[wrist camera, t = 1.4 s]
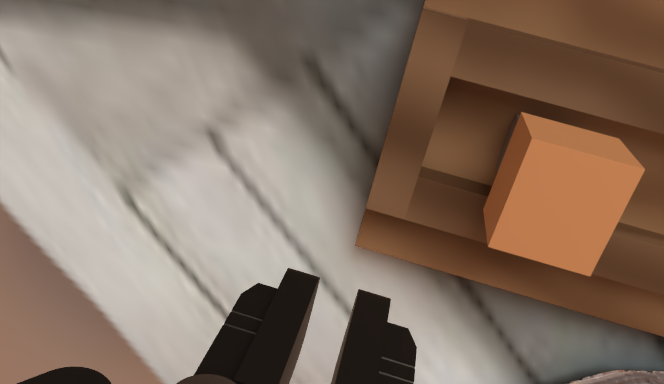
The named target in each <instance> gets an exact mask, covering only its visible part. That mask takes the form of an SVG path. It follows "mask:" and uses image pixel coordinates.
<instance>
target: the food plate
mask: <svg viewBox="0 0 664 384" xmlns="http://www.w3.org/2000/svg"><path fill="white" fill-rule="evenodd" d="M647 372H648V371H642V370H641V371H636V370H632V371H630V370H627V371H626V370H616V371H615V370H614V371H613V370H612V371H609V372H608V371H607V372H604V373H601V374H598V375H591V376H589V377H586V378H582V379H583V380H581V381H580V380H578V381H576V380H575V381H571V383H569V384H664V372H663V371H660V372H658V371H652V372H648V373H647ZM566 384H567V383H566Z"/></svg>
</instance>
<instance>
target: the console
mask: <svg viewBox="0 0 664 384" xmlns="http://www.w3.org/2000/svg"><path fill="white" fill-rule="evenodd" d="M521 112H523V113H527V114H531V115H534V116H538V117H542V118H545V119H549V120H553V121H556V122H560V123H564V124H567V125H571V126H575V127H578V128H582V129H586V130H589V131H593V132H597V133H600V134H604V135H608V136H611V137H615V138H619V139H620V140H621V141H622V143H623V144H624V145H625V146H626V147H627V149H628V150H629V151H630V152H631V153H632V154H633V156H634V157H635V158H636V159H637V160H638V161H639V163H640V164H641V165H642V166H643V167H644V169H645V171H644V173H643V175H642V177H641V179H640V181H639V183H638V185H637V186H636V188H635V190H634V192H633V194H632V196H631V198H630V200H629V202H628V204H627V206H626V208H625V210H624V212H623V214H622V216H621V218H620V220H619V222H618V223H617V225H616V227H615V229H614V231H613V233H612V235H611V237H610V239H609V241H608V243H607V245H606V247H605V249H604V251H603V253H602V255H601V257H600V258H599V260H598V262H597V264H596V266H595V268H594V270H593V272H592V274H591V276H586V275H583V274H579V273H576V272H573V271H569V270H566V269H562V268H559V267H555V266H552V265H549V264H545V263H542V262H538V261H535V260H531V259H528V258H524V257H521V256H518V255H514V254H511V253H507V252H504V251H500V250H497V249H494V248H490V247H488V244H487V236H486V228H485V220H484V212H483V208H484V206H485V203H486V201H487V198H488V196H489V193H490V191H491V188H492V185H493V183H494V180H495V178H496V175H497V171H496V164H497V162H498V159H499V156H500V154H501V151H502V149H503V146H504V143H505V141H506V138H507V136H508V133H509V130H510V128H511V125H512V123H513V120H514V118H515V115H516V113H519V114H520V113H521ZM355 246H358V247H362V248H365V249H369V250H372V251H375V252H379V253H382V254H385V255H389V256H392V257H396V258H399V259H402V260H406V261H409V262H412V263H416V264H419V265H423V266H426V267H429V268H433V269H436V270H439V271H443V272H446V273H450V274H453V275H456V276H460V277H463V278H466V279H470V280H473V281H477V282H480V283H483V284H487V285H490V286H494V287H497V288H500V289H504V290H507V291H510V292H514V293H517V294H521V295H524V296H527V297H531V298H534V299H537V300H541V301H544V302H548V303H551V304H554V305H558V306H561V307H564V308H568V309H571V310H575V311H578V312H581V313H585V314H588V315H592V316H595V317H598V318H602V319H605V320H608V321H612V322H615V323H619V324H622V325H625V326H629V327H632V328H635V329H639V330H642V331H646V332H649V333H652V334H656V335H659V336H662V337H664V0H425V3H424V7H423V9H422V13H421V16H420V20H419V23H418V27H417V30H416V34H415V37H414V41H413V44H412V48H411V51H410V55H409V58H408V62H407V65H406V69H405V72H404V76H403V79H402V83H401V86H400V90H399V93H398V97H397V100H396V104H395V107H394V111H393V114H392V118H391V121H390V125H389V128H388V132H387V135H386V139H385V142H384V146H383V149H382V153H381V156H380V160H379V163H378V167H377V170H376V174H375V177H374V181H373V184H372V188H371V191H370V195H369V198H368V202H367V205H366V209H365V213H364V216H363V220H362V223H361V227H360V230H359V234H358V237H357V241H356V244H355Z"/></svg>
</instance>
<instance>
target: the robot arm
mask: <svg viewBox="0 0 664 384" xmlns="http://www.w3.org/2000/svg"><path fill="white" fill-rule="evenodd" d="M319 280H320V277H317V276H313V275H310V274H307V273H304V272H300V271H297V270H294V269H290V268H288V269H287V271H286V273H285V275H284V277H283V279H282V281H281V283H280V285H279V287H278V289H277V288H273V287H270V286H267V285H263V284H260V283H257V284H256V285H254V286H253V287H251V288H250V289H248V290H246V291H245V292H243V293H242V294H241V295H240V297H239V299H238V300H237V302H236V304H235V305H234V307H233V309H232V312H230V314H229V316H228V317H227V319H226V321H225V323H224V325H223V326H222V328H221V330H220V331H219V333H218V335H217V336H216V338H215V340H214V342H213V343H212V345H211V347H210V348H209V350H208V352H207V354H206V355H205V357H204V359H203V360H202V362H201V364H200V366H199V367H198V369H197V371H196V372H195V374H194V375H193V376H190V377H187V378H185V379H183V380H181V381H180V382H178V383H177V384H289V382H290V379H291V377H292V374H293V371H294V368H295V366H296V363H297V360H298V357H299V354H300V351H301V348H302V344H303V341H304V338H305V334H306V330H307V326H308V323H309V319H310V315H311V311H312V307H313V304H314V300H315V296H316V292H317V288H318V284H319ZM390 301H391V299H390V298H386V297H383V296H380V295H377V294H373V293H370V292H367V291H363V290H360V289H359V290H358V293H357V296H356V299H355V303H354V306H353V309H352V313H351V316H350V319H349V322H348V326H347V329H346V332H345V336H344V339H343V342H342V346H341V349H340V353H339V356H338V360H337V363H336V367H335V371H334V374H333V378H332V382H331V384H413V382H414V374H415V369H414V368H415V361H416V348H417V347H416V345H415V343H414V340H413V338H412V336H411V334H410V331H409V329H408V328H405V327H401V326H398V325H395V324H392V323H388V322H387V320H388V314H389V307H390ZM17 384H111V382H110V381H109V380H108V379H107V378H106V377H105V376H104V375H102V374H101V373H99V372H97V371H95V370H92V369H89V368H84V367H64V368H59V369H55V370H52V371H49V372H46V373H44V374H41V375H39V376H36V377H33V378H30V379H28V380H25V381H23V382H20V383H17Z"/></svg>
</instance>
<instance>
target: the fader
mask: <svg viewBox="0 0 664 384" xmlns="http://www.w3.org/2000/svg"><path fill="white" fill-rule="evenodd" d="M496 171H497V175H496V178H495V180H494V183H493V185H492V188H491V191H490V193H489V196H488V198H487V201H486V203H485V206H484V208H483V212H484V220H485V228H486V236H487V244H488V247H490V248H494V249H497V250H500V251H504V252H507V253H511V254H514V255H518V256H521V257H524V258H528V259H531V260H535V261H538V262H542V263H545V264H549V265H552V266H555V267H559V268H562V269H566V270H569V271H573V272H576V273H579V274H583V275H586V276H591V274H592V272H593V270H594V268H595V266H596V264H597V262H598V260H599V258H600V257H601V255H602V253H603V251H604V249H605V247H606V245H607V243H608V241H609V239H610V237H611V235H612V233H613V231H614V229H615V227H616V225H617V223H618V222H619V220H620V218H621V216H622V214H623V212H624V210H625V208H626V206H627V204H628V202H629V200H630V198H631V196H632V194H633V192H634V190H635V188H636V186H637V185H638V183H639V181H640V179H641V177H642V175H643V173H644V171H645V169H644V167H643V166H642V165H641V164H640V163H639V161H638V160H637V159H636V158H635V157H634V156H633V154H632V153H631V152H630V151H629V150H628V149H627V147H626V146H625V145H624V144H623V143H622V141H621V140H620V139H619V138H615V137H611V136H608V135H604V134H600V133H597V132H593V131H589V130H586V129H582V128H578V127H575V126H571V125H567V124H564V123H560V122H556V121H553V120H549V119H545V118H542V117H538V116H534V115H531V114H527V113H523V112H521V113H520V114H519V113H516V115H515V118H514V120H513V123H512V125H511V128H510V130H509V133H508V136H507V138H506V141H505V143H504V146H503V149H502V151H501V154H500V156H499V159H498V162H497V164H496Z"/></svg>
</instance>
